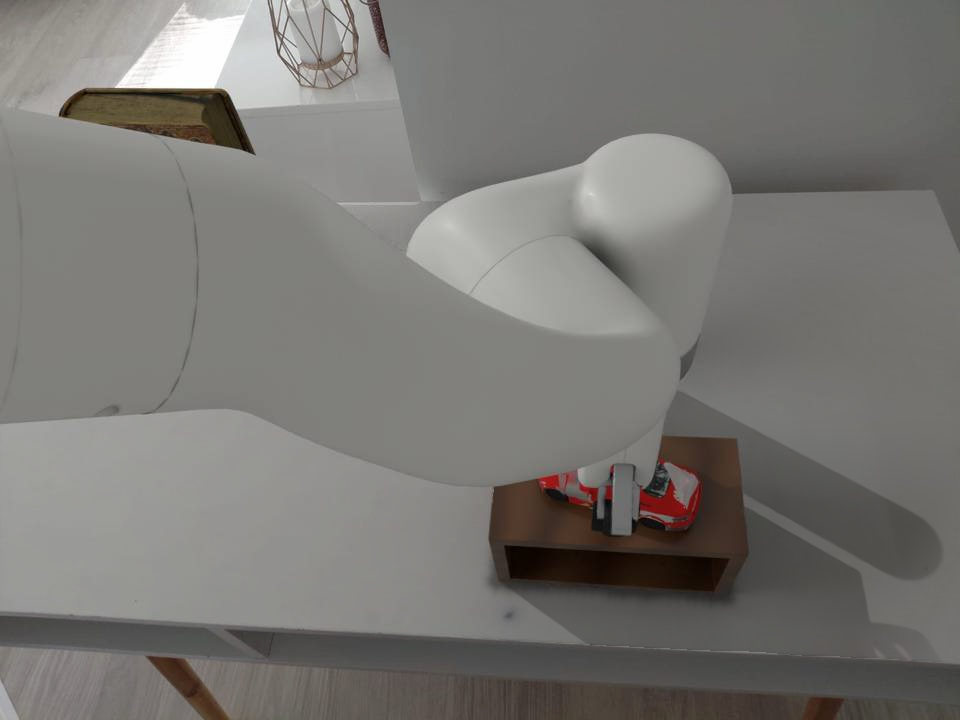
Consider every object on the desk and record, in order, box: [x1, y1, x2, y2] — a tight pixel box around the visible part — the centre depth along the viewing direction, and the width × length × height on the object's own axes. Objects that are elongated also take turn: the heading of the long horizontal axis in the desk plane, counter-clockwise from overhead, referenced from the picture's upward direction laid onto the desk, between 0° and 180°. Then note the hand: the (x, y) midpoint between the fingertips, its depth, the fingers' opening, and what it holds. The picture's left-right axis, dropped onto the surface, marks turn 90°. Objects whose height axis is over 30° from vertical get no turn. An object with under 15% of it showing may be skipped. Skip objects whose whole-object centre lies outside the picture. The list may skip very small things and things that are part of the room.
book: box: [57, 87, 257, 156], centre depth 83 cm, size 16×6×25 cm, turn 82°
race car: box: [538, 459, 702, 531], centre depth 60 cm, size 13×5×4 cm, turn 68°
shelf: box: [487, 435, 750, 597], centre depth 66 cm, size 20×10×10 cm, turn 84°
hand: (612, 469), depth 58 cm, fingers open, 9 cm apart
